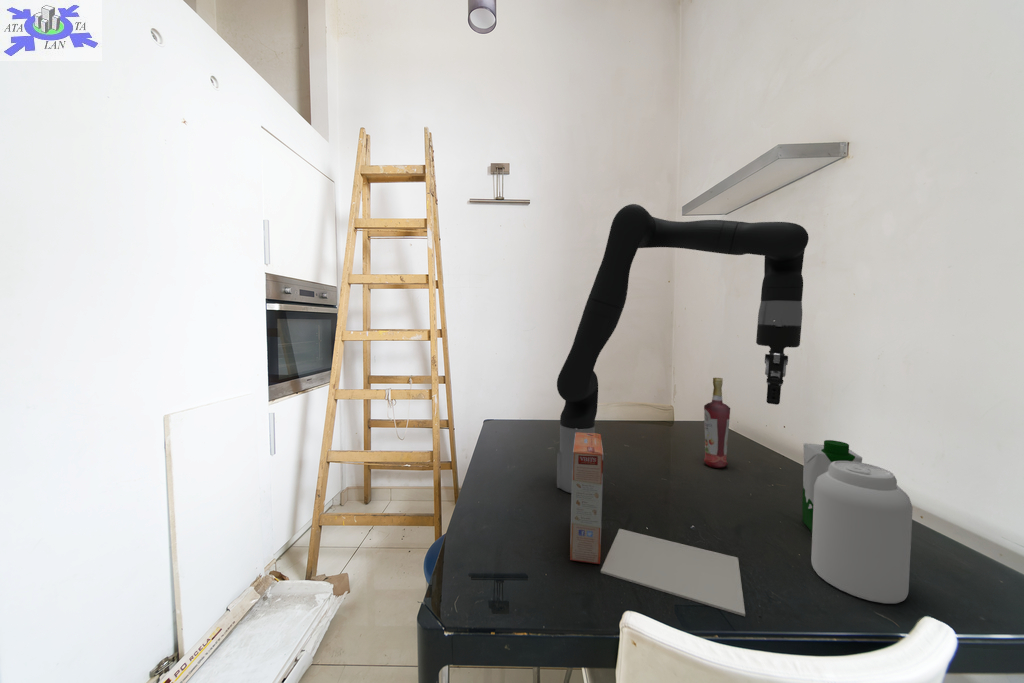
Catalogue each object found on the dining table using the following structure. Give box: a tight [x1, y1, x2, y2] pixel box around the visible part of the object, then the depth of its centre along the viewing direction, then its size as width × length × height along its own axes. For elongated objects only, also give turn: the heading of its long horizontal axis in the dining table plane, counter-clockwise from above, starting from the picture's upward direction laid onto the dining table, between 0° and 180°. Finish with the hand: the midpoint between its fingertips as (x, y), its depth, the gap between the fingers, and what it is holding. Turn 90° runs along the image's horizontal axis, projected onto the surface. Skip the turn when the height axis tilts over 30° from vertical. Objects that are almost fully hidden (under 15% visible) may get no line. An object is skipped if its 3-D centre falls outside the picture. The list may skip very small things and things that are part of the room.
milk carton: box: [801, 439, 863, 533], centre depth 82 cm, size 9×9×20 cm
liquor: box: [703, 377, 731, 469], centre depth 121 cm, size 7×7×28 cm
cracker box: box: [569, 432, 604, 565], centre depth 77 cm, size 14×6×21 cm, turn 168°
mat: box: [600, 528, 746, 617], centre depth 70 cm, size 22×16×1 cm
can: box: [810, 461, 914, 604], centre depth 66 cm, size 12×12×20 cm
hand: (772, 400), depth 81 cm, fingers open, 8 cm apart
